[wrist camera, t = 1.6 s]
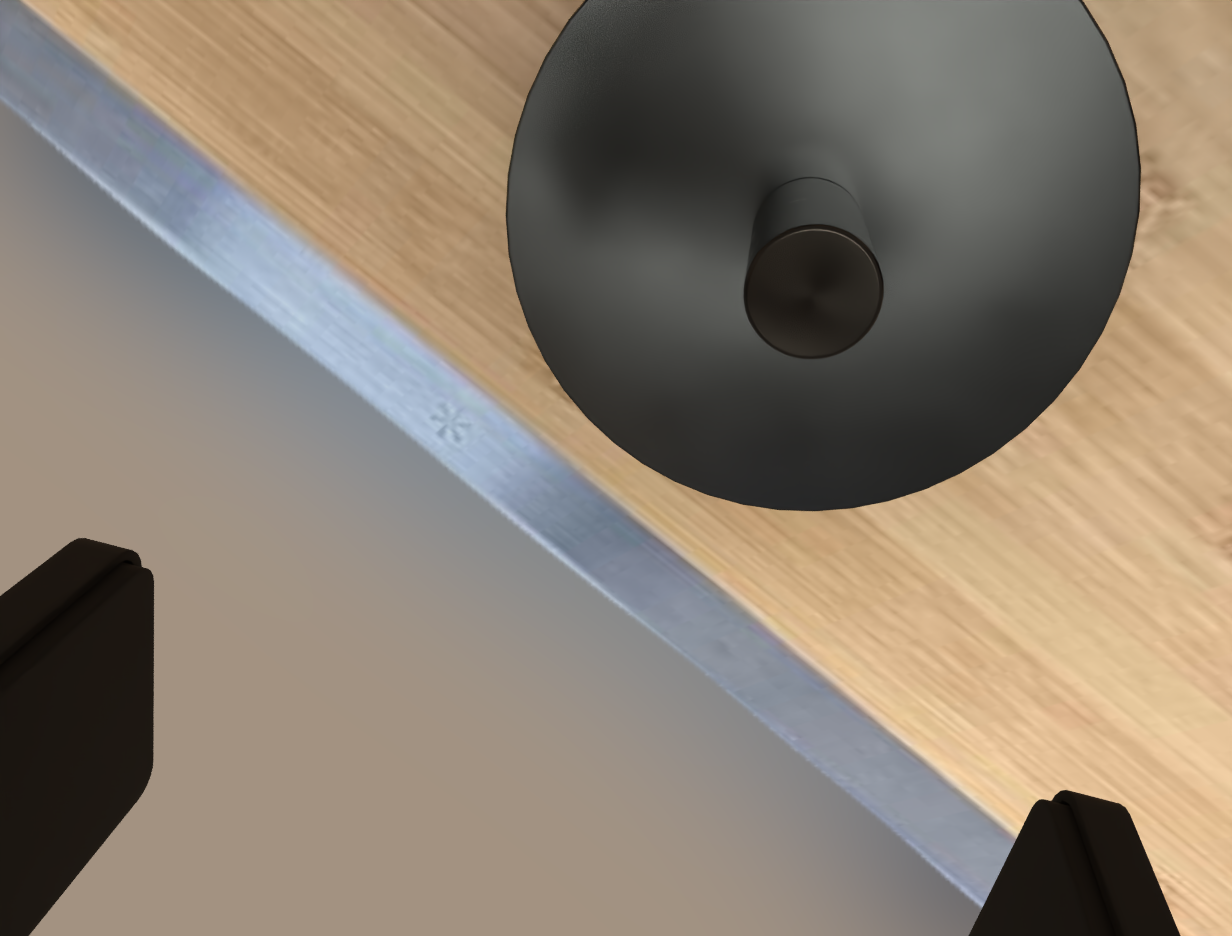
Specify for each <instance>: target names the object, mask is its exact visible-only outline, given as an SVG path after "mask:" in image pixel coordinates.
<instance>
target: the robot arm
mask: <svg viewBox="0 0 1232 936" xmlns="http://www.w3.org/2000/svg"><path fill="white" fill-rule="evenodd" d="M153 673H154V580H153V574H152V572H151V571H150V570H149V569H147V568H143V567H142V566H141V560H140V557H139V555H138V554H137V553H136V552H134V551H133V550H129V549H125V548H121V547H117V546H114V545H109V544H106V543H102V542H98V541H94V540H90V539H86V538H78V539H76V540H74V541H72V542H70V543H69V544H68V545H66V546H65V547H64V548H62V549H61V550H60V551H58V552H57V553H56V554H55V555H53V556H52V557H51V558H49V559H48V560H47V561H46V562H44V563H43V564H42V565H40V566H39V567H38V568H36V569H35V570H34V571H32V572H31V573H30V574H28V575H27V576H26V577H25V578H23V579H22V580H21V581H19V582H18V583H17V584H15V585H14V586H13V587H11V588H10V589H9V590H8V591H6V592H5V593H4V594H2V595H1V596H0V936H29V935H30V933H31V932H32V931H33V930H34V929H35V927H36V926H37V925H38V923H39V922H40V921H41V920H42V919H43V917H44V916H45V915H46V914H47V912H48V911H49V910H50V909H51V907H52V906H53V905H54V904H55V902H56V901H57V900H58V899H59V897H60V896H61V895H62V894H63V893H64V891H65V890H66V889H67V887H68V886H69V885H70V884H71V882H72V881H73V880H74V879H75V878H76V876H77V875H78V874H79V873H80V871H81V870H82V869H83V868H84V866H85V865H86V864H87V863H88V861H89V860H90V859H91V858H92V856H93V855H94V854H95V853H96V852H97V850H98V849H99V848H100V847H101V845H102V844H103V843H104V842H105V840H106V839H107V838H108V837H109V835H110V834H111V833H112V832H113V830H114V829H115V828H116V827H117V825H118V824H119V823H120V822H121V821H122V819H123V818H124V816H125V815H126V814H127V813H128V812H129V811H130V809H131V808H132V807H133V805H134V804H135V803H136V802H137V801H138V799H139V798H140V796H141V795H142V793H143V792H144V790H145V788H146V786H147V784H148V781H149V779H150V776H151V772H152V768H153V706H154V705H153V704H154V703H153V702H154V701H153V698H154V697H153V696H154V691H153V689H154V674H153ZM969 936H1180V934H1179V931H1178V929H1177V926H1176V924H1175V922H1174V919H1173V917H1172V914H1171V912H1170V910H1169V907H1168V905H1167V902H1166V900H1165V898H1164V895H1163V893H1162V890H1161V888H1160V885H1159V883H1158V881H1157V878H1156V876H1155V873H1154V871H1153V869H1152V866H1151V864H1150V861H1149V859H1148V857H1147V854H1146V852H1145V849H1144V847H1143V845H1142V842H1141V840H1140V837H1139V835H1138V833H1137V830H1136V828H1135V825H1134V823H1133V821H1132V818H1131V816H1130V814H1129V812H1128V811H1127V809H1126V808H1125V807H1124V806H1122V805H1121V804H1119V803H1115V802H1111V801H1107V800H1103V799H1099V798H1095V797H1091V796H1088V795H1084V794H1080V793H1076V792H1072V791H1068V790H1063V791H1060V792H1059V793H1058V794H1056V795H1055V797H1054V798H1053V800H1052V801H1048V800H1044V799H1041V800H1038V801H1037V802H1036V803H1035V804H1034V806H1033V807H1032V809H1031V811H1030V813H1029V815H1028V817H1027V819H1026V821H1025V823H1024V825H1023V827H1022V829H1021V831H1020V833H1019V835H1018V837H1017V839H1016V841H1015V843H1014V845H1013V847H1012V849H1011V851H1010V853H1009V855H1008V857H1007V859H1006V861H1005V863H1004V865H1003V867H1002V869H1001V871H1000V873H999V876H998V878H997V880H996V882H995V884H994V886H993V888H992V890H991V892H990V894H989V896H988V898H987V900H986V902H985V904H984V906H983V908H982V910H981V912H980V914H979V916H978V918H977V920H976V922H975V924H974V926H973V928H972V930H971V932H970V934H969Z"/></svg>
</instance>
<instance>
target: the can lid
mask: <svg viewBox="0 0 1232 936" xmlns="http://www.w3.org/2000/svg"><path fill="white" fill-rule="evenodd" d="M1140 183H1141V164H1140V155H1139V146H1138V136H1137V127H1136V122H1135V118H1134V114H1133V110H1132V106H1131V102H1130V99H1129V95H1128V91H1127V87H1126V83H1125V80H1124V78H1123V76H1122V73H1121V71H1120V68H1119V66H1118V64H1117V61H1116V59H1115V57H1114V54H1113V52H1112V50H1111V47H1110V45H1109V43H1108V40H1107V39H1106V37H1105V35H1104V34H1103V32H1102V31H1101V29H1100V27H1099V26H1098V24H1097V23H1096V21H1095V19H1094V18H1093V16H1092V14H1091V13H1090V11H1089V10H1088V8H1087V6H1086V5H1085V3H1084V2H1083V1H1082V0H585V1H584V2H583V3H582V4H581V5H580V7H579V8H578V9H577V10H576V11H575V13H574V14H573V15H572V16H571V18H570V19H569V20H568V22H567V23H566V25H565V26H564V28H563V30H562V31H561V33H560V34H559V36H558V37H557V39H556V41H555V42H554V44H553V45H552V47H551V49H550V50H549V52H548V53H547V55H546V57H545V59H544V61H543V63H542V65H541V67H540V69H539V72H538V74H537V76H536V78H535V80H534V82H533V85H532V87H531V89H530V91H529V93H528V95H527V99H526V102H525V105H524V108H523V111H522V114H521V118H520V121H519V124H518V127H517V130H516V134H515V138H514V143H513V149H512V155H511V160H510V166H509V171H508V181H507V200H506V225H507V238H508V251H509V258H510V263H511V268H512V273H513V278H514V282H515V287H516V292H517V295H518V298H519V301H520V304H521V307H522V310H523V313H524V315H525V318H526V321H527V324H528V327H529V329H530V331H531V333H532V335H533V337H534V340H535V342H536V344H537V346H538V348H539V350H540V352H541V354H542V356H543V358H544V360H545V362H546V363H547V365H548V366H549V368H550V369H551V371H552V372H553V374H554V376H555V377H556V379H557V380H558V382H559V383H560V385H561V386H562V388H563V389H564V391H565V392H566V393H567V394H568V396H569V397H570V398H571V399H572V400H573V402H574V403H575V404H576V405H577V406H578V408H579V409H580V410H581V411H582V412H583V413H584V415H585V416H586V417H587V418H588V419H589V420H590V421H591V422H592V423H593V424H594V425H595V426H596V427H597V428H599V429H600V430H601V431H602V432H603V433H604V434H605V435H606V436H607V437H608V438H609V439H610V440H611V441H613V442H614V443H615V444H616V445H618V446H619V447H620V448H622V449H623V450H625V451H626V452H627V453H629V454H630V455H631V456H633V457H634V458H636V459H637V460H638V461H640V462H641V463H642V464H644V465H646V466H648V467H649V468H651V469H653V470H655V471H657V472H659V473H660V474H662V475H664V476H666V477H668V478H669V479H671V480H673V481H675V482H677V483H680V484H682V485H685V486H687V487H690V488H692V489H695V490H697V491H699V492H702V493H704V494H707V495H710V496H714V497H717V498H721V499H725V500H728V501H732V502H735V503H739V504H743V505H750V506H756V507H763V508H769V509H776V510H796V511H823V510H836V509H848V508H855V507H860V506H865V505H871V504H876V503H881V502H886V501H890V500H893V499H896V498H899V497H903V496H906V495H909V494H912V493H915V492H918V491H921V490H924V489H927V488H929V487H931V486H933V485H936V484H938V483H940V482H942V481H945V480H947V479H949V478H951V477H953V476H956V475H958V474H960V473H962V472H963V471H965V470H967V469H968V468H970V467H972V466H973V465H975V464H977V463H978V462H980V461H982V460H983V459H985V458H987V457H988V456H990V455H992V454H994V453H995V452H996V451H997V450H999V449H1000V448H1001V447H1003V446H1004V445H1005V444H1007V443H1008V442H1009V441H1010V440H1012V439H1013V438H1014V437H1016V436H1017V435H1018V434H1020V433H1021V432H1022V431H1023V430H1025V429H1026V428H1027V427H1028V426H1029V425H1030V424H1031V423H1032V422H1033V421H1034V420H1035V419H1036V418H1037V417H1038V416H1039V415H1040V414H1041V413H1042V412H1043V411H1044V410H1045V409H1046V408H1047V407H1048V406H1049V405H1050V404H1052V403H1053V402H1054V401H1055V399H1056V398H1057V397H1058V396H1059V394H1060V393H1061V392H1062V391H1063V389H1064V388H1065V387H1066V386H1067V384H1068V383H1069V382H1070V381H1071V379H1072V378H1073V377H1074V376H1075V374H1076V373H1077V372H1078V371H1079V369H1080V368H1081V366H1082V365H1083V363H1084V362H1085V360H1086V358H1087V357H1088V355H1089V354H1090V352H1091V350H1092V349H1093V347H1094V346H1095V344H1096V342H1097V341H1098V339H1099V337H1100V336H1101V334H1102V332H1103V330H1104V328H1105V326H1106V324H1107V322H1108V319H1109V317H1110V315H1111V313H1112V311H1113V308H1114V306H1115V304H1116V302H1117V300H1118V298H1119V295H1120V292H1121V289H1122V286H1123V283H1124V279H1125V276H1126V273H1127V270H1128V267H1129V263H1130V260H1131V257H1132V253H1133V247H1134V242H1135V236H1136V230H1137V224H1138V218H1139V212H1140Z"/></svg>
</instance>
